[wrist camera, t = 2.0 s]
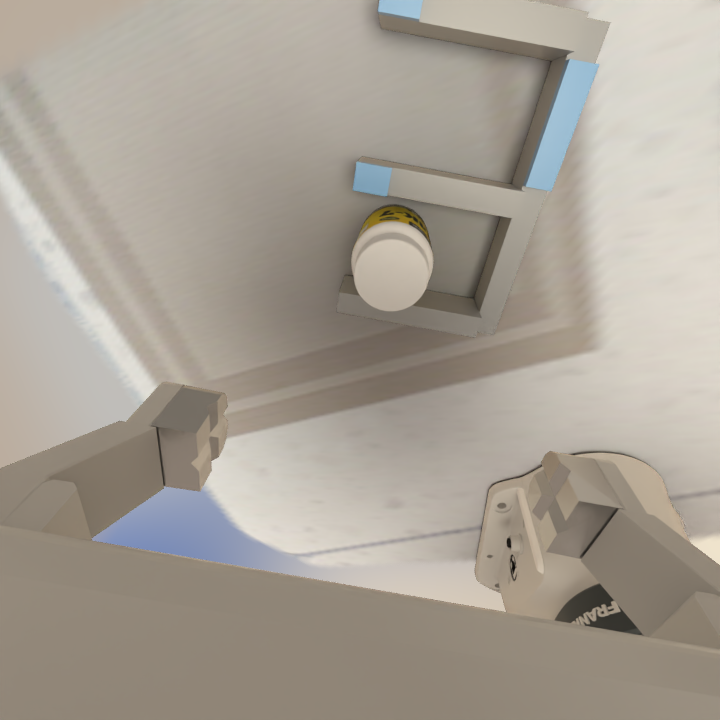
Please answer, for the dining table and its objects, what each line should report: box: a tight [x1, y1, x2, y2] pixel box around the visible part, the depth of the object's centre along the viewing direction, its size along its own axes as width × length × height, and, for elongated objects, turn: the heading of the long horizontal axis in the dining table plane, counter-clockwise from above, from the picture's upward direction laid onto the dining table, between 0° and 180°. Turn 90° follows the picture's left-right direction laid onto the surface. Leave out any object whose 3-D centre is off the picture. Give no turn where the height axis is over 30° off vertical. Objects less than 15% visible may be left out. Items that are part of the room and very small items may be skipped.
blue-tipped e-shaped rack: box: [336, 0, 611, 338], centre depth 25 cm, size 18×11×4 cm, turn 171°
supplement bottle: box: [351, 205, 434, 311], centre depth 25 cm, size 5×5×8 cm
